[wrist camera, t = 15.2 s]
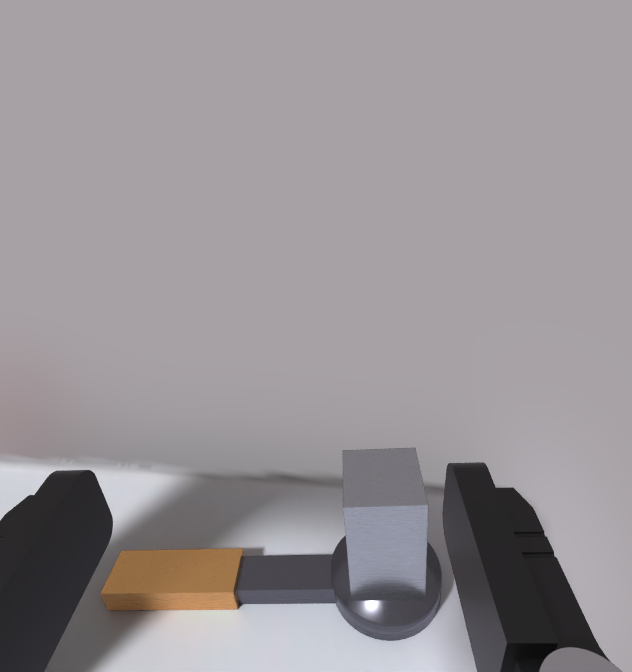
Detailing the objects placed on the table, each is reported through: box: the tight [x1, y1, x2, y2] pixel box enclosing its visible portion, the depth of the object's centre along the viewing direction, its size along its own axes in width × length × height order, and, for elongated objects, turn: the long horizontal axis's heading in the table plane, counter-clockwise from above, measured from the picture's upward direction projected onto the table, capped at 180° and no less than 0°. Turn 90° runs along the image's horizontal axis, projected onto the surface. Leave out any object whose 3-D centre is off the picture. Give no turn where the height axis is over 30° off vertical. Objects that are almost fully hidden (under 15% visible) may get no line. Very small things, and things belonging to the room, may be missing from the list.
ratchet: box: [100, 536, 441, 641], centre depth 33 cm, size 25×8×6 cm, turn 87°
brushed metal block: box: [343, 448, 428, 601], centre depth 31 cm, size 5×5×9 cm
